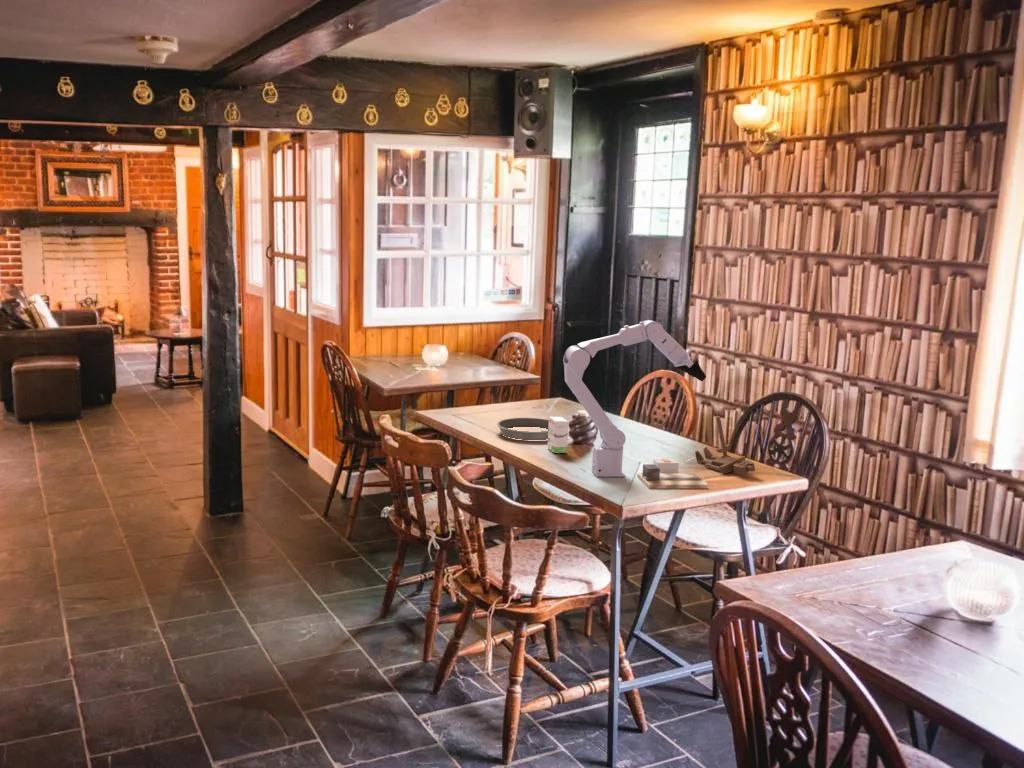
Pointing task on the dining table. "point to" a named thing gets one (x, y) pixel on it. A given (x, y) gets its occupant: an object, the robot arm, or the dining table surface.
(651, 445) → the dining table surface
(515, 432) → the cake pan
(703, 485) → the rail board
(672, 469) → the block
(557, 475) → the dining table surface
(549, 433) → the ink box
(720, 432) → the wooden figure
